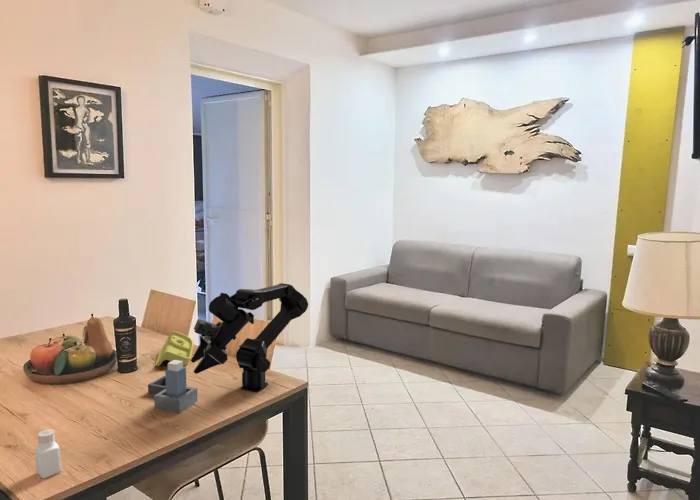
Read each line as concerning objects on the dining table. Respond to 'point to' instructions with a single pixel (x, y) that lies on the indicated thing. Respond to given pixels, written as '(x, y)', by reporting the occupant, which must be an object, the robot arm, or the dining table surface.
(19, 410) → the dining table surface
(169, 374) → the plug
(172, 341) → the plastic component
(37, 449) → the white pill bottle
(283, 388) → the dining table surface
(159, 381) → the frame
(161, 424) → the dining table surface
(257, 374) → the robot arm
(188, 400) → the socket block
